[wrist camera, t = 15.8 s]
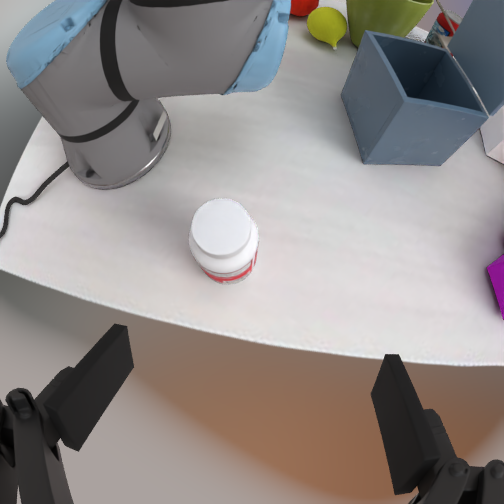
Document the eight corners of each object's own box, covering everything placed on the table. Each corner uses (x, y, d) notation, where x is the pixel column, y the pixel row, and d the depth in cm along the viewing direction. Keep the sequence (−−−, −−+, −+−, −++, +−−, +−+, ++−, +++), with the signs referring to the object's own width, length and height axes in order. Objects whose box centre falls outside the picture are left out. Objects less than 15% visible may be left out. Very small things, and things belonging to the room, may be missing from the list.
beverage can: (419, 41, 47) (438, 3, 35) (444, 52, 47) (465, 17, 35) (424, 57, 45) (446, 18, 34) (450, 70, 45) (474, 33, 33)
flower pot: (320, 45, 44) (338, -27, 28) (340, 15, 47) (356, -44, 32) (399, 80, 42) (434, 14, 27) (406, 44, 46) (433, -11, 30)
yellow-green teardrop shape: (345, 25, 44) (345, 63, 44) (308, 22, 45) (305, 59, 45) (347, 2, 37) (348, 40, 37) (307, -2, 38) (303, 35, 38)
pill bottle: (220, 221, 35) (210, 176, 25) (266, 248, 35) (275, 212, 24) (190, 266, 34) (166, 238, 23) (237, 296, 33) (233, 280, 23)
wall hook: (399, -19, 29) (419, -27, 26) (462, 82, 48) (477, 78, 45) (408, -7, 28) (430, -15, 25) (468, 98, 47) (484, 93, 44)
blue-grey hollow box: (363, 164, 38) (404, 101, 25) (340, 95, 41) (364, 29, 28) (440, 166, 38) (489, 118, 26) (413, 102, 41) (447, 49, 29)
